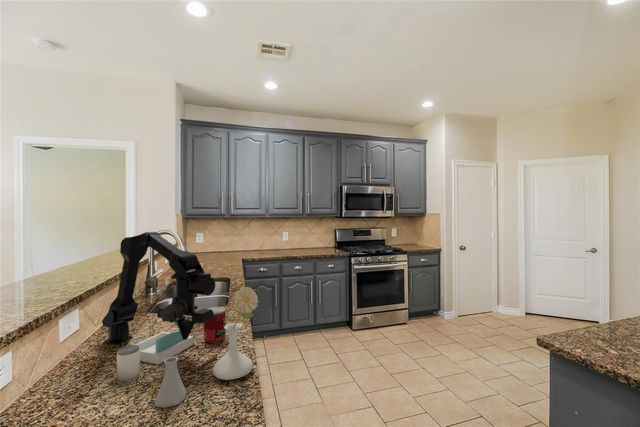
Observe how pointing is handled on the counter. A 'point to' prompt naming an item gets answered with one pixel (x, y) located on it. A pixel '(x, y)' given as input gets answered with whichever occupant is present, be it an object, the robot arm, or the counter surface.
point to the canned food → (215, 326)
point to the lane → (151, 356)
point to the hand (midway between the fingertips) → (185, 339)
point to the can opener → (206, 363)
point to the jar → (128, 362)
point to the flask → (171, 385)
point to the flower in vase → (235, 361)
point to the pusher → (168, 341)
